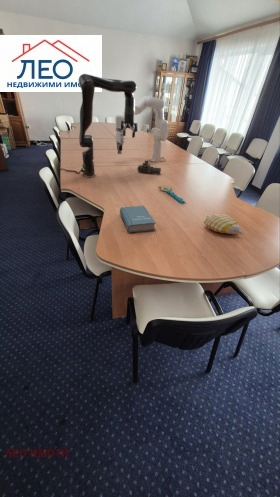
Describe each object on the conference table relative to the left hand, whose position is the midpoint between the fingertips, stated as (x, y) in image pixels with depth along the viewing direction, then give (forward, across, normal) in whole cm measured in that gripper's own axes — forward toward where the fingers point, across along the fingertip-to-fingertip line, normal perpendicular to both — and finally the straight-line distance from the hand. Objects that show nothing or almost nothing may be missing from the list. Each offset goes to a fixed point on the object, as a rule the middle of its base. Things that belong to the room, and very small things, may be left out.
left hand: (128, 136), depth 178 cm
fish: (+35, -95, +38) cm, 108 cm away
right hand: (+20, +32, -32) cm, 49 cm away
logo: (+35, -47, +6) cm, 59 cm away
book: (+35, -47, +61) cm, 85 cm away
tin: (+24, +32, -32) cm, 51 cm away
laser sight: (+35, -6, -28) cm, 45 cm away
